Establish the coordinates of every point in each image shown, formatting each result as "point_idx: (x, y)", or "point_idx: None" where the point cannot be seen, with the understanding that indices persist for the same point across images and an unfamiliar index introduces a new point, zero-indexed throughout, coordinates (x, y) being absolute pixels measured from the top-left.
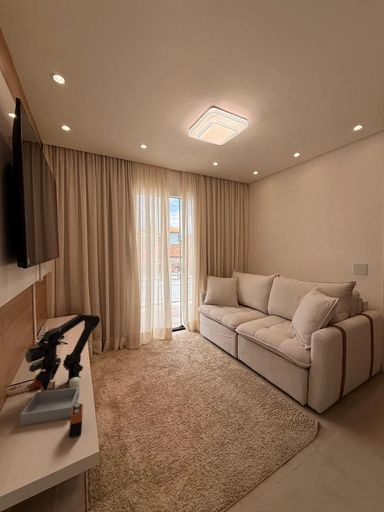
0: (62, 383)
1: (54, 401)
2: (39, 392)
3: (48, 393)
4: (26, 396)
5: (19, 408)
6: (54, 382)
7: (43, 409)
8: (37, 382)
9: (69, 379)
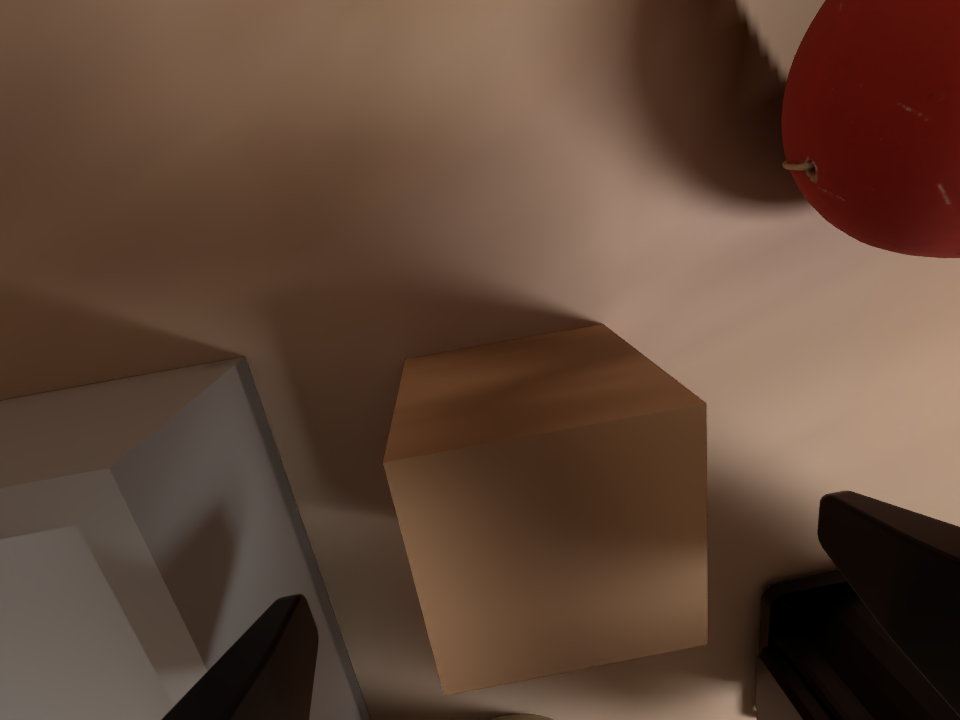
0: None
1: None
2: (121, 566)
3: None
4: (456, 7)
5: (10, 132)
6: (648, 655)
7: (28, 624)
8: (874, 60)
9: (823, 704)
